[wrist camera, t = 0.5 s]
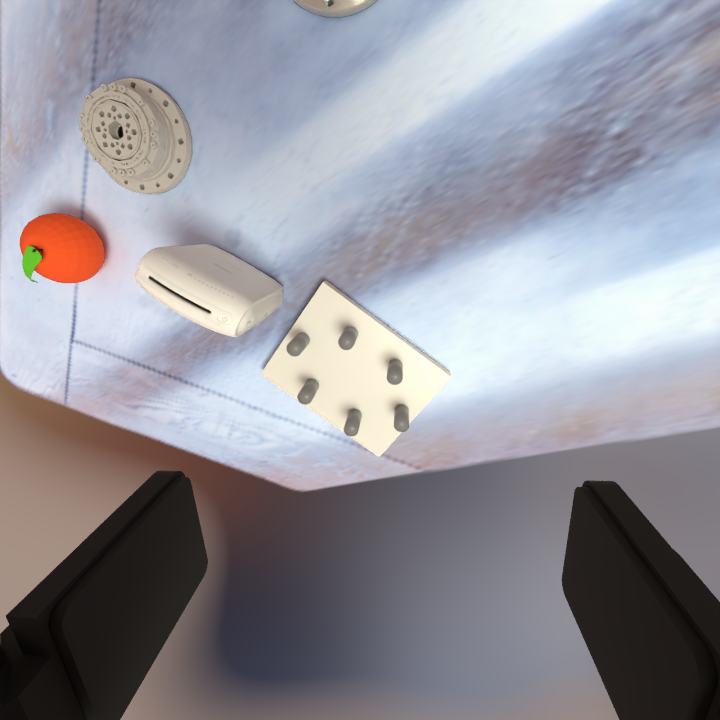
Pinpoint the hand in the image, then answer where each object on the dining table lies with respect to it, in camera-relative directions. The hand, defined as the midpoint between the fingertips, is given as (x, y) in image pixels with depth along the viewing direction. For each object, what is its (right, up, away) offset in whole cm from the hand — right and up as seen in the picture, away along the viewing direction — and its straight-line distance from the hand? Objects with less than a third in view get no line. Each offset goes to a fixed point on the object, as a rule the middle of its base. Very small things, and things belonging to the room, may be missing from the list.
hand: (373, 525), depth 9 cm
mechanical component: (-22, +26, +30) cm, 45 cm away
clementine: (-31, +16, +34) cm, 49 cm away
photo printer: (-13, +13, +33) cm, 38 cm away
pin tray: (-1, +3, +35) cm, 35 cm away
